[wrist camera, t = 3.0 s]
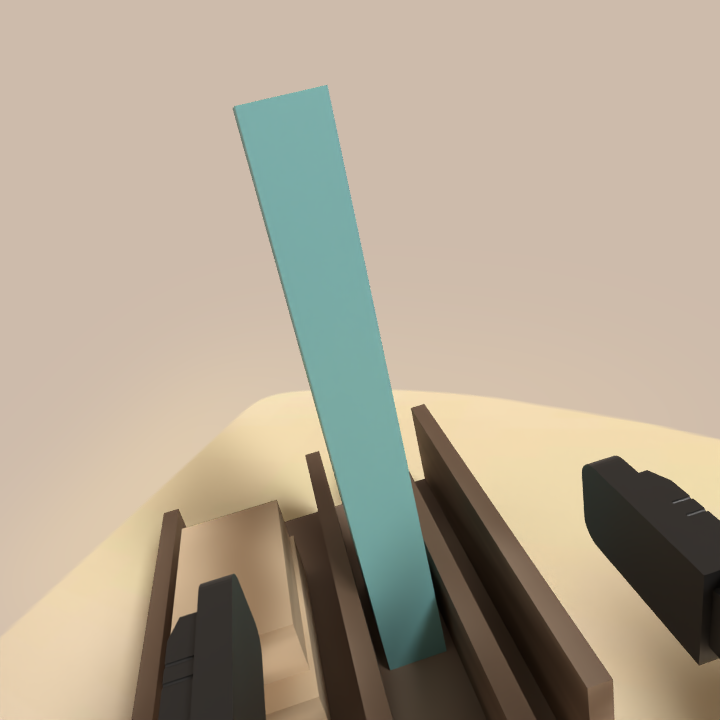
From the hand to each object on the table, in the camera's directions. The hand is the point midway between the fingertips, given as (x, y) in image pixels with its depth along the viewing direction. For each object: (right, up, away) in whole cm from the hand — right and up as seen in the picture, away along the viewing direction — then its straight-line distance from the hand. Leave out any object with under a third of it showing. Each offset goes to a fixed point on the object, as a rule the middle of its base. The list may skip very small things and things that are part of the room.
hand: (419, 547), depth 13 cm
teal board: (+1, -8, +14) cm, 16 cm away
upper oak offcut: (-6, -7, +12) cm, 16 cm away
